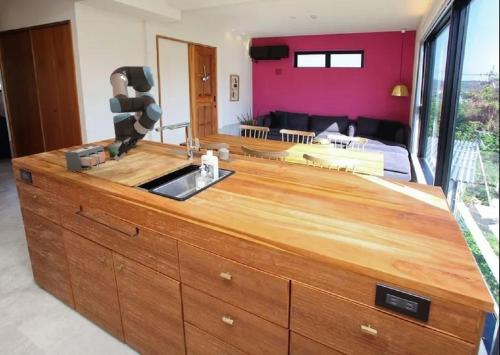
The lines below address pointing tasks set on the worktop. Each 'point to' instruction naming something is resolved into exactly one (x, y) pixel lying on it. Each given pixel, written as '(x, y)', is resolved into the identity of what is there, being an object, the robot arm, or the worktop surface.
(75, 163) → the grey slotted holder
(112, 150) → the food container
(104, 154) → the plunger
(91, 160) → the plunger
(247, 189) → the worktop surface
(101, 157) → the plunger middle
